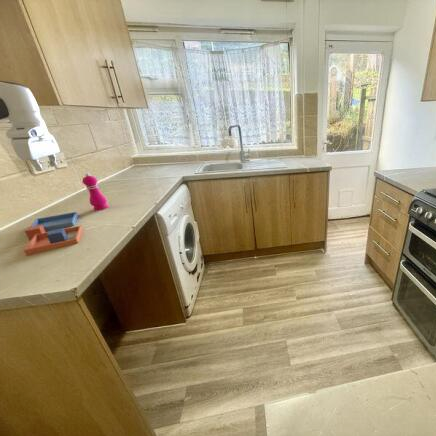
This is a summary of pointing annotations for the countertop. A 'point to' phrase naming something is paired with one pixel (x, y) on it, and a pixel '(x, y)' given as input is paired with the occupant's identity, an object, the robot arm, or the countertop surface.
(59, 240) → the blue block
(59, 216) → the blue tray
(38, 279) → the countertop surface
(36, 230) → the terracotta block
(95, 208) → the pepper mill
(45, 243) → the orange tray
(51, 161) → the robot arm
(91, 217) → the countertop surface
